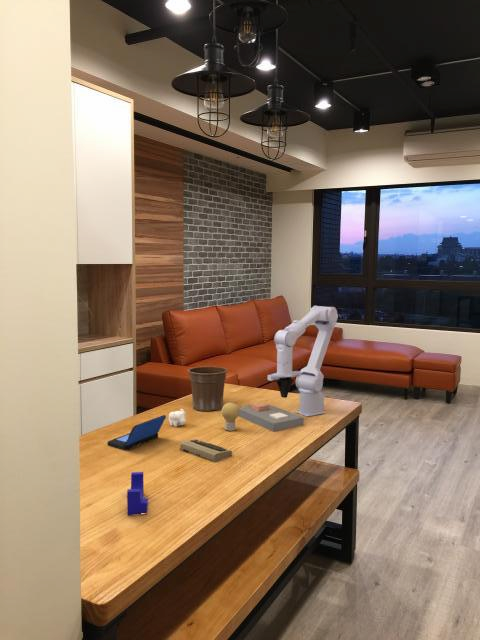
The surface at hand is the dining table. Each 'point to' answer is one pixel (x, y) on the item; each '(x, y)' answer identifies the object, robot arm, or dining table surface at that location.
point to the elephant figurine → (177, 418)
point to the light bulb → (230, 415)
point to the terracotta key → (260, 406)
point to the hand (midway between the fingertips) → (284, 397)
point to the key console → (271, 418)
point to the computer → (205, 450)
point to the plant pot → (207, 387)
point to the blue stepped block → (136, 495)
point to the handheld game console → (139, 434)
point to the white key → (278, 415)
